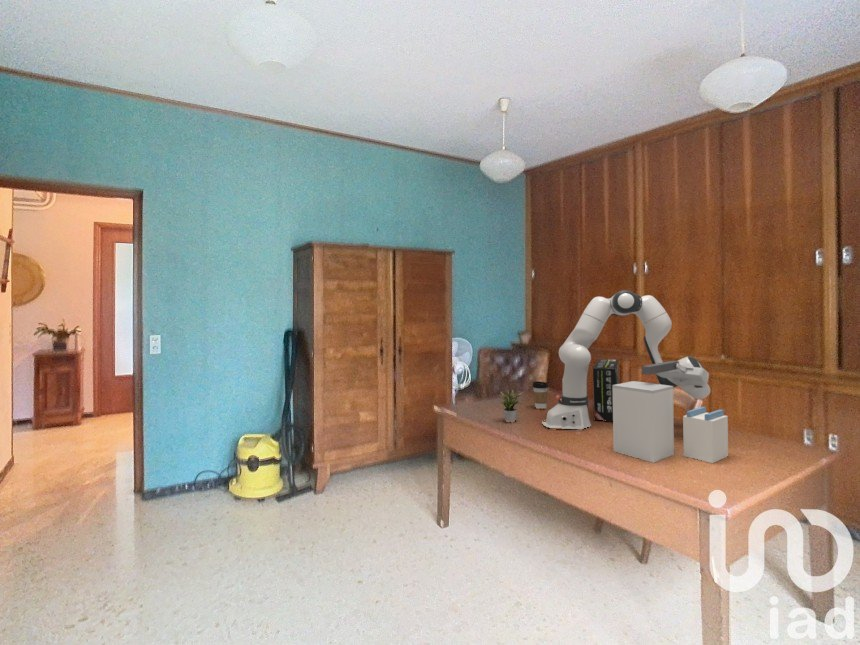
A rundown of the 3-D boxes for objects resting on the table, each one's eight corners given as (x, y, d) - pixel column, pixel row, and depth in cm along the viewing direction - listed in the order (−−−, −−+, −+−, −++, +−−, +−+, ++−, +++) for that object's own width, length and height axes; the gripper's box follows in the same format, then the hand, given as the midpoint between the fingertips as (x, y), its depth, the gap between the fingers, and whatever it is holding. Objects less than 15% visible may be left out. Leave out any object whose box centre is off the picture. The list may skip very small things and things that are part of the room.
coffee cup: (534, 407, 255) (533, 380, 254) (549, 407, 252) (548, 381, 251) (531, 410, 247) (531, 383, 246) (547, 411, 244) (547, 383, 243)
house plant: (529, 425, 215) (528, 392, 215) (500, 426, 216) (499, 392, 215) (523, 418, 230) (522, 386, 229) (496, 419, 230) (495, 387, 229)
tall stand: (634, 444, 182) (633, 380, 181) (674, 454, 169) (673, 386, 168) (613, 451, 174) (612, 385, 174) (653, 462, 161) (652, 390, 160)
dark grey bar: (671, 368, 186) (671, 360, 185) (679, 368, 183) (679, 361, 183) (641, 374, 173) (641, 366, 173) (649, 374, 171) (649, 367, 171)
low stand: (699, 449, 174) (698, 406, 173) (728, 456, 166) (727, 410, 165) (683, 456, 167) (683, 410, 167) (712, 463, 159) (712, 415, 158)
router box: (598, 406, 253) (597, 358, 252) (619, 407, 248) (619, 359, 247) (593, 421, 220) (592, 367, 219) (617, 423, 216) (616, 367, 215)
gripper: (663, 368, 199) (648, 355, 192) (713, 373, 182) (698, 359, 175) (659, 382, 197) (644, 369, 190) (710, 388, 180) (694, 374, 173)
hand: (670, 364), depth 182 cm, fingers closed on dark grey bar, 3 cm apart
